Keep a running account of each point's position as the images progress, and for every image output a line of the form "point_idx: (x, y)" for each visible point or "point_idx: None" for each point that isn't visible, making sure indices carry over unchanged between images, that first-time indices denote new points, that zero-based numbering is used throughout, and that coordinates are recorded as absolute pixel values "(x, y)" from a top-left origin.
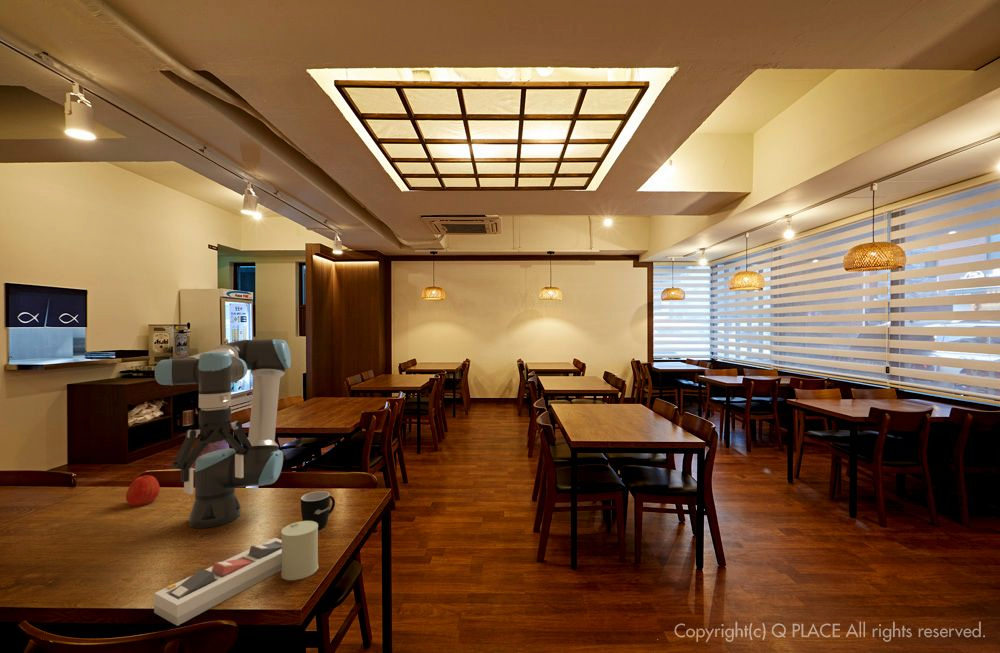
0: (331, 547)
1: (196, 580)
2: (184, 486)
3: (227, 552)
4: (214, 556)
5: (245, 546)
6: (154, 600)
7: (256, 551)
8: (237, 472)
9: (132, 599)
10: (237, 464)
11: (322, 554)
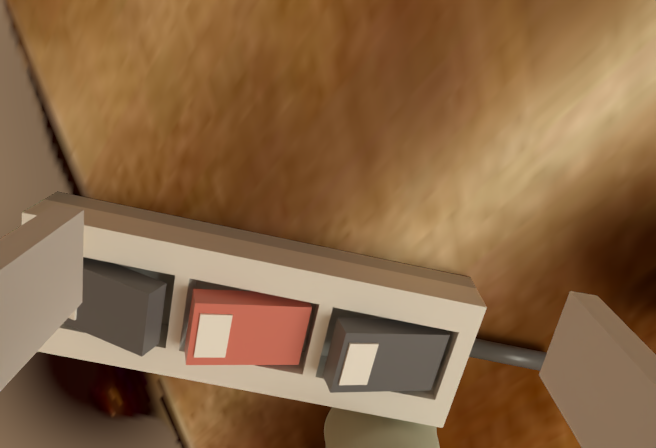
0: (538, 432)
1: (107, 317)
2: (18, 232)
3: (443, 78)
4: (402, 50)
5: (505, 113)
6: (36, 205)
7: (332, 362)
8: (578, 359)
9: (68, 30)
10: (628, 422)
11: (487, 433)
